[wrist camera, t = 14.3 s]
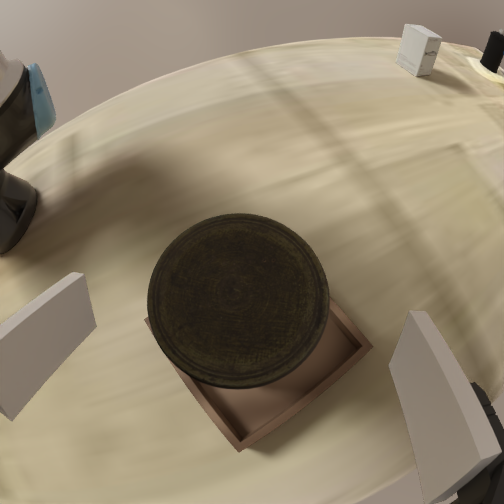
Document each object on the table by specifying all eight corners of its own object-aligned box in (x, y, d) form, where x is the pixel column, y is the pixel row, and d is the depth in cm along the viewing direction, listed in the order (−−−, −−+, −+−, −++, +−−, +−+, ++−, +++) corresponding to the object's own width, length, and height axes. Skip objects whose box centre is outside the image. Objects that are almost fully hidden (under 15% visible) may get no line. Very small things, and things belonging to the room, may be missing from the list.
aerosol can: (484, 67, 59) (499, 28, 41) (476, 58, 62) (489, 21, 44) (499, 76, 58) (515, 39, 40) (491, 66, 61) (505, 30, 43)
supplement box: (416, 77, 50) (428, 36, 39) (394, 62, 53) (404, 22, 42) (431, 75, 51) (443, 37, 40) (410, 61, 54) (420, 24, 43)
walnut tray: (154, 324, 31) (144, 319, 28) (269, 242, 34) (269, 229, 31) (241, 445, 25) (238, 452, 22) (364, 349, 28) (373, 346, 25)
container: (287, 290, 31) (303, 187, 14) (308, 371, 27) (361, 365, 11) (205, 308, 30) (133, 226, 14) (221, 390, 27) (152, 408, 10)
